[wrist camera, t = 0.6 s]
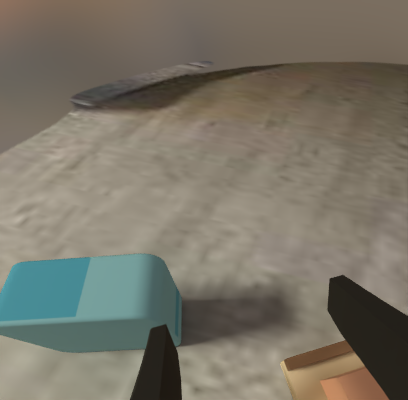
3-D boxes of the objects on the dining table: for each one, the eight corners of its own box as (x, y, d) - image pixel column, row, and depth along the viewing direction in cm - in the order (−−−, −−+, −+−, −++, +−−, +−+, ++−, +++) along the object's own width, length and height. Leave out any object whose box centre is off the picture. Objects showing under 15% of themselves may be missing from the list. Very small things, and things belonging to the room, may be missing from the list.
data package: (184, 300, 28) (160, 250, 18) (183, 347, 25) (155, 316, 16) (78, 306, 28) (2, 261, 19) (65, 353, 26) (-30, 327, 16)
